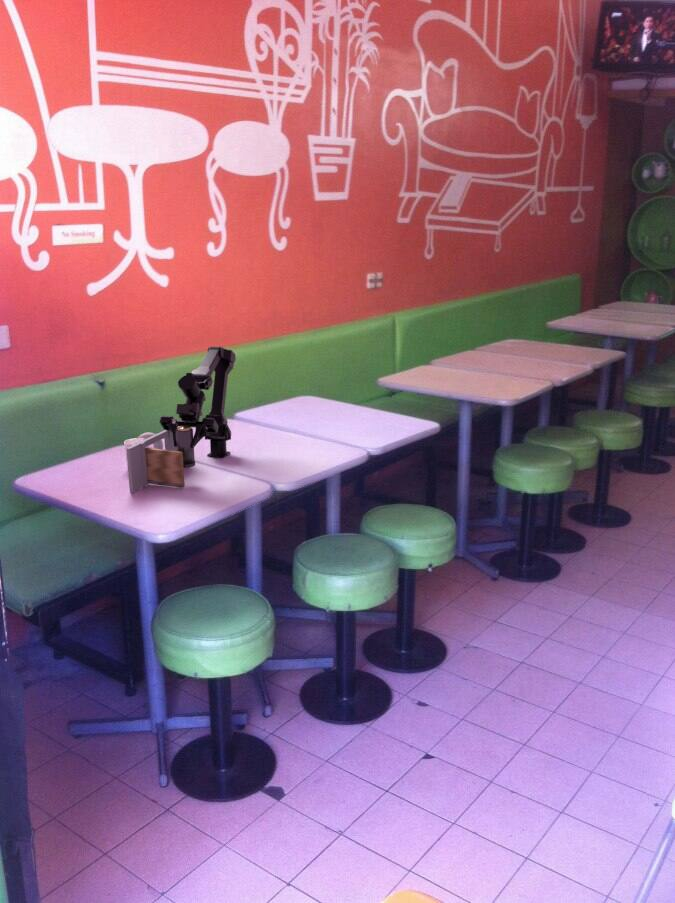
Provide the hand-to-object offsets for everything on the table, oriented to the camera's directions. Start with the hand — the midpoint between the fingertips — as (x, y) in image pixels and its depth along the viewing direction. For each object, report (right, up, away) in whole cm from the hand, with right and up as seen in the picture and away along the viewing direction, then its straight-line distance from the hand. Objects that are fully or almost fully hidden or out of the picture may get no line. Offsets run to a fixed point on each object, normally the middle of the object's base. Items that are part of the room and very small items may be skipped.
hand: (183, 447), depth 279 cm
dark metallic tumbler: (0, -6, +3) cm, 7 cm away
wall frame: (-10, -10, +11) cm, 18 cm away
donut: (-18, -4, +30) cm, 35 cm away
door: (-6, -12, +1) cm, 14 cm away
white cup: (-20, -8, +20) cm, 29 cm away
